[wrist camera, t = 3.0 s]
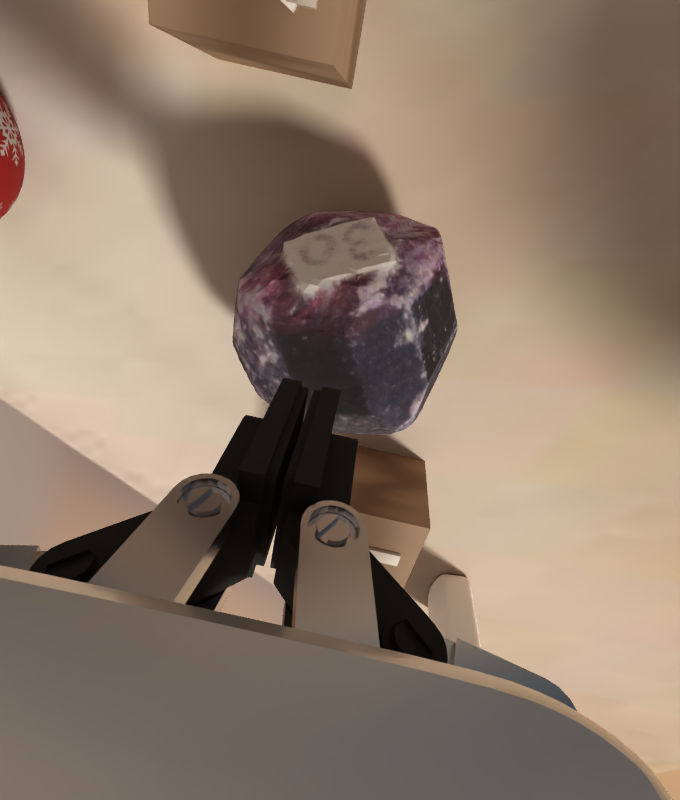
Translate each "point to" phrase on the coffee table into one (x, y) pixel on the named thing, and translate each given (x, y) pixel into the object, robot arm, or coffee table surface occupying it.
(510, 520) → the coffee table surface
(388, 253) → the mineral specimen
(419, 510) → the walnut block
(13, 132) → the christmas ornament
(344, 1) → the brown cube
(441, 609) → the eye dropper bottle
